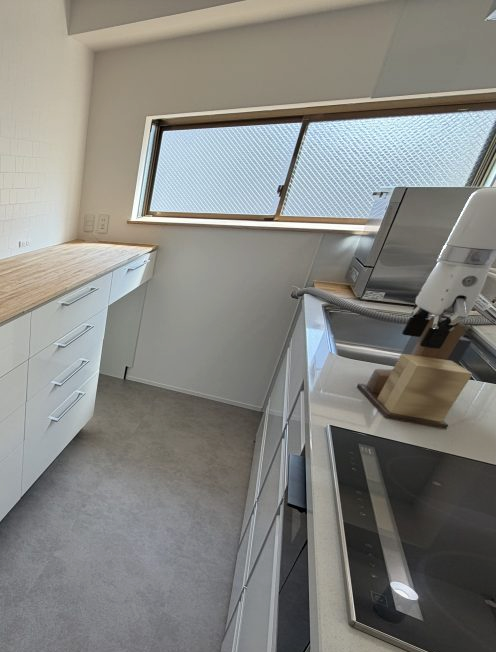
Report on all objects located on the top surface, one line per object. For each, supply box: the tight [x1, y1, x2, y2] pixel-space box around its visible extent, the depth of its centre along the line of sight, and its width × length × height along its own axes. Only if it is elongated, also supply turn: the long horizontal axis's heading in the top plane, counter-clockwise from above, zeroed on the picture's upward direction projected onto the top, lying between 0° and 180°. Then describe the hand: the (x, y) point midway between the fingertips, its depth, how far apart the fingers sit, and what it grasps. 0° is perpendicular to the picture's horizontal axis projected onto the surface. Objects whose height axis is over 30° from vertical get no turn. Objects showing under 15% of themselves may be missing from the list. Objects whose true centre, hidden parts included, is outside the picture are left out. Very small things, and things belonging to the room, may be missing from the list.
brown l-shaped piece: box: [366, 316, 468, 394], centre depth 91 cm, size 9×4×18 cm, turn 61°
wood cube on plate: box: [356, 353, 473, 430], centre depth 89 cm, size 10×16×12 cm, turn 158°
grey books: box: [401, 335, 473, 365], centre depth 98 cm, size 6×9×15 cm
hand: (420, 340), depth 89 cm, fingers open, 7 cm apart
